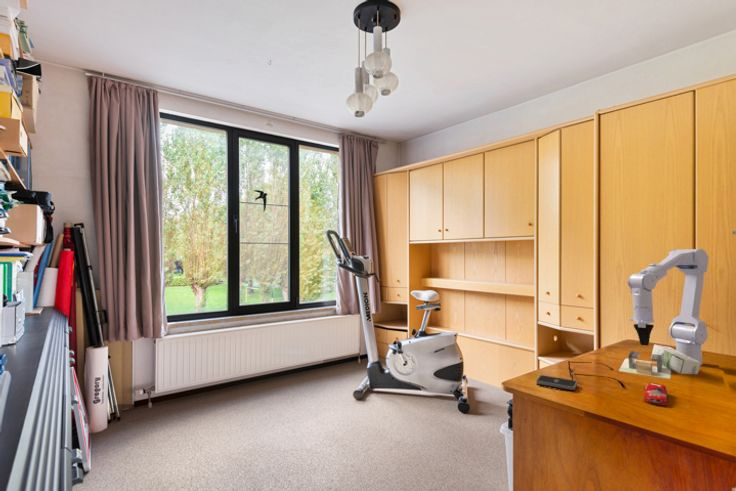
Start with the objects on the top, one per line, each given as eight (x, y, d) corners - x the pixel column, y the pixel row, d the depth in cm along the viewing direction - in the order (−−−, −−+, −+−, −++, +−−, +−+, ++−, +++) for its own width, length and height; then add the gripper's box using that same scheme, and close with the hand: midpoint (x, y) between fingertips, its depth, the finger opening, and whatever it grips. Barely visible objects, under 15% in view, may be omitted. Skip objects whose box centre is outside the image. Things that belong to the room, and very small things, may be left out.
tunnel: (631, 363, 138) (630, 351, 138) (662, 367, 132) (661, 355, 132) (629, 368, 132) (628, 355, 132) (661, 372, 126) (660, 359, 126)
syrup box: (701, 362, 123) (669, 346, 138) (683, 359, 124) (653, 343, 138) (697, 378, 124) (665, 360, 138) (679, 375, 124) (649, 358, 139)
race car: (667, 409, 100) (666, 394, 100) (642, 404, 104) (641, 390, 104) (669, 395, 110) (669, 381, 110) (647, 391, 114) (646, 378, 114)
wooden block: (638, 369, 130) (637, 361, 130) (652, 371, 127) (651, 362, 127) (636, 373, 126) (636, 364, 126) (651, 375, 123) (650, 366, 123)
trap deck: (625, 362, 144) (625, 358, 144) (671, 368, 135) (671, 364, 135) (618, 375, 129) (618, 370, 129) (670, 383, 119) (670, 378, 119)
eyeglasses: (566, 370, 137) (566, 359, 137) (617, 375, 130) (616, 363, 130) (570, 384, 122) (569, 371, 122) (627, 390, 115) (626, 377, 115)
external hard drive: (541, 380, 125) (540, 374, 125) (578, 387, 119) (577, 381, 119) (536, 386, 120) (536, 380, 120) (574, 393, 113) (574, 387, 113)
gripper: (631, 304, 140) (632, 339, 140) (626, 308, 129) (628, 347, 129) (654, 305, 136) (656, 342, 135) (652, 309, 125) (654, 350, 124)
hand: (644, 344), depth 132 cm, fingers closed
